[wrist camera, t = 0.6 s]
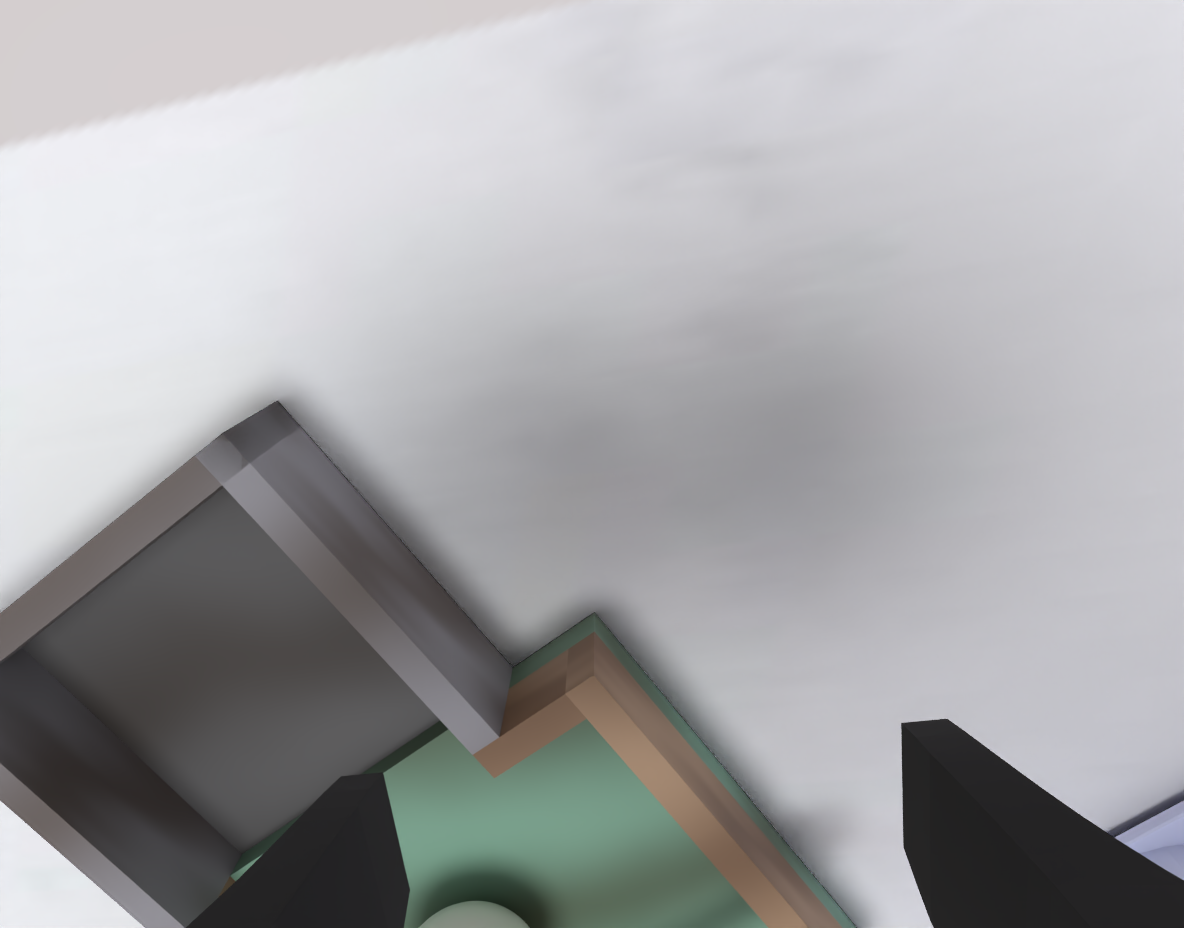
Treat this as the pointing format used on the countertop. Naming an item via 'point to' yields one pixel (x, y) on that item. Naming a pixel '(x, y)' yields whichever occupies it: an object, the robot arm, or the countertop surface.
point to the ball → (474, 916)
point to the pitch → (354, 719)
